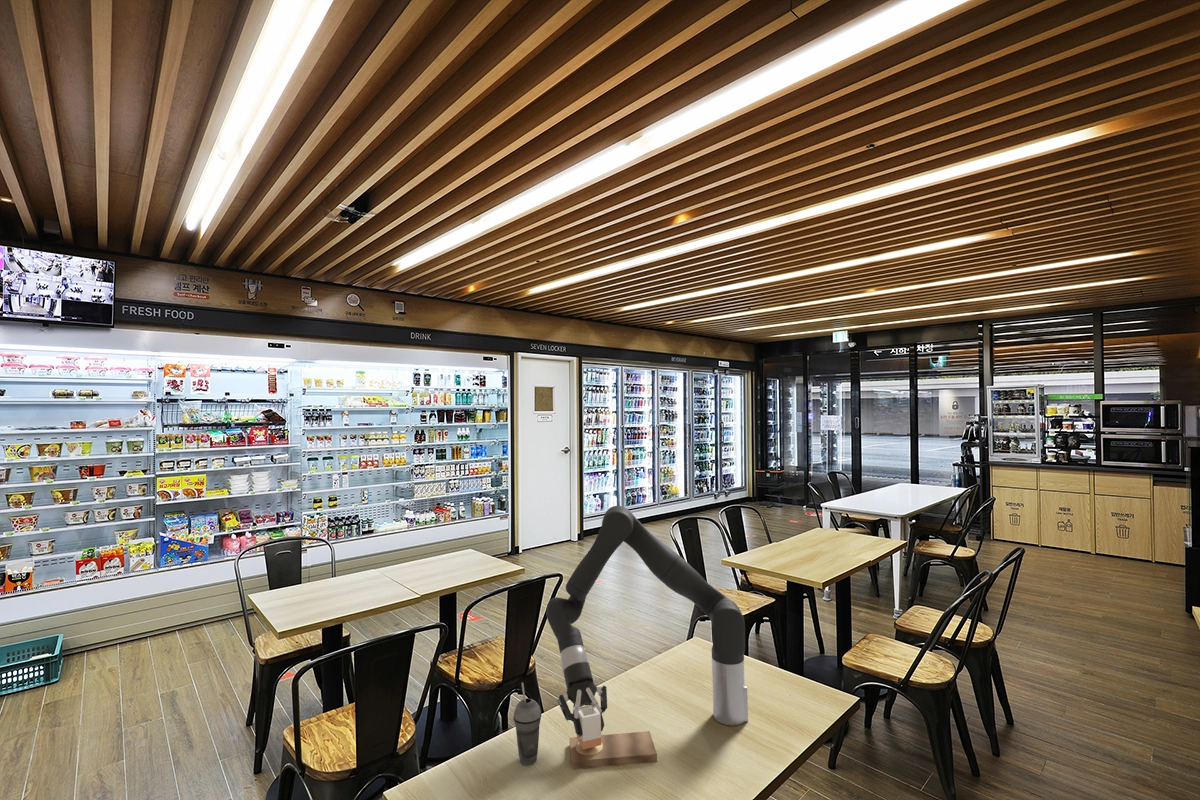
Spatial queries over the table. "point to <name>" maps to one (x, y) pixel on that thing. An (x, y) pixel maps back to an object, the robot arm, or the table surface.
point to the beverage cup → (527, 729)
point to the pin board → (614, 751)
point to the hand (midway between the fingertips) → (591, 732)
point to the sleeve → (590, 727)
